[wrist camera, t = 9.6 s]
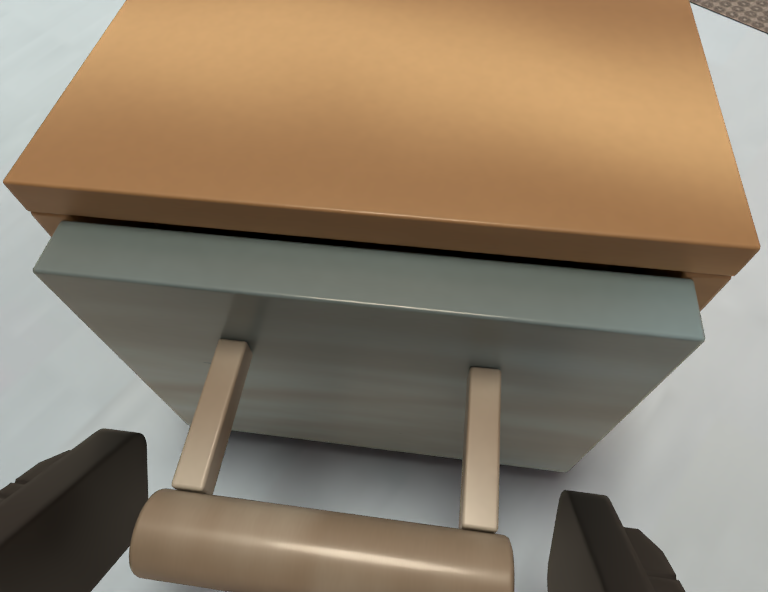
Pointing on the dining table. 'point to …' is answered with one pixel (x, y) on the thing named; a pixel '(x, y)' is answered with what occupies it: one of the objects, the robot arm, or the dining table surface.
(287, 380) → the drawer
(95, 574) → the robot arm
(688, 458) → the dining table surface
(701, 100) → the cabinet
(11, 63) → the dining table surface
